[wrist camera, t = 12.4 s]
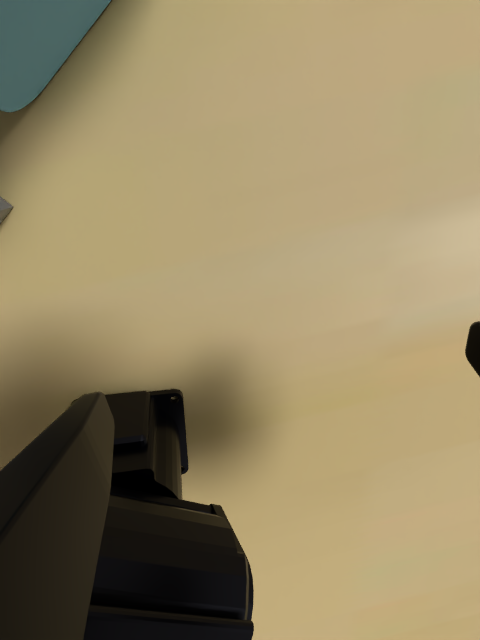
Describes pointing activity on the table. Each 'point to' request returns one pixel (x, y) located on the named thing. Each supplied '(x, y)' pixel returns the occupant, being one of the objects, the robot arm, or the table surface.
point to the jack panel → (4, 208)
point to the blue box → (38, 43)
